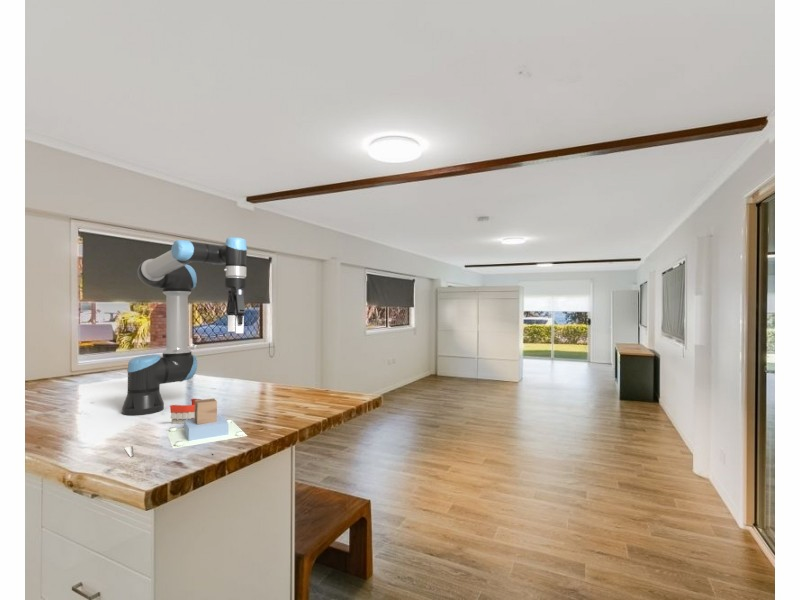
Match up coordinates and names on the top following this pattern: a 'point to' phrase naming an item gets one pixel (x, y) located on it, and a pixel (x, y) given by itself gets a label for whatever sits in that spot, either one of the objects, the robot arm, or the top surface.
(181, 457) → the top surface
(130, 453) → the page
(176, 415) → the toy
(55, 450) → the top surface
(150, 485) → the top surface
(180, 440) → the build plate
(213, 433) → the base brick
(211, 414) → the walnut block
